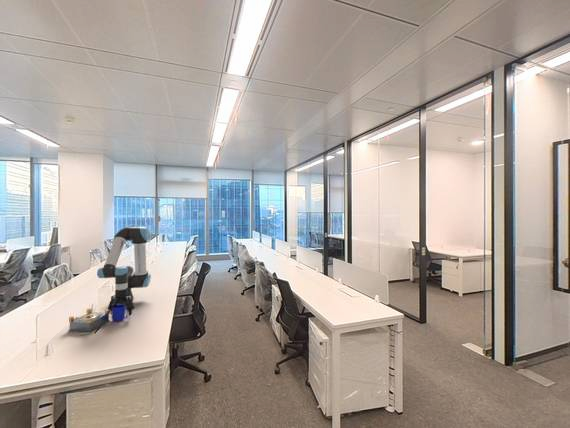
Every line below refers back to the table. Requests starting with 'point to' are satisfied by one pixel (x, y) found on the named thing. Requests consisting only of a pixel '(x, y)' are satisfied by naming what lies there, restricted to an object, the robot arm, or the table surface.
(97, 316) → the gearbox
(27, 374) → the table surface
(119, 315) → the mug
